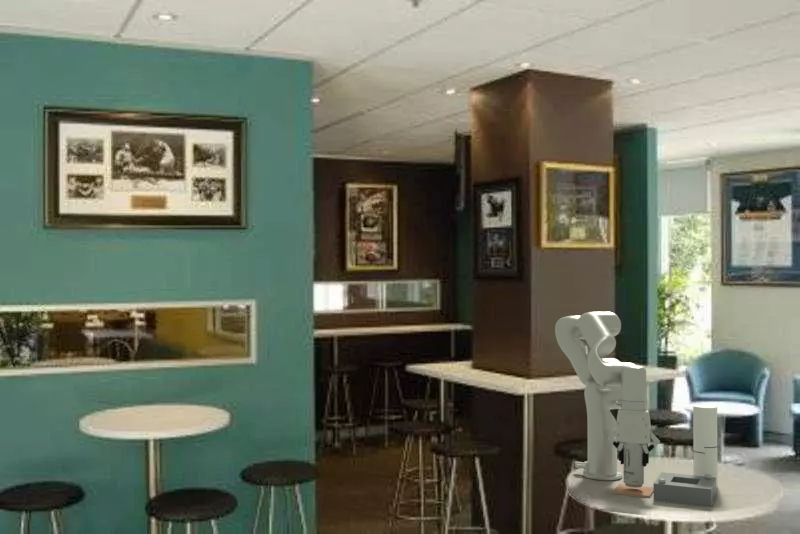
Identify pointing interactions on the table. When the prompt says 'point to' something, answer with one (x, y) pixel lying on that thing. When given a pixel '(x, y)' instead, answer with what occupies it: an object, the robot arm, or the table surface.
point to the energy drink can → (633, 465)
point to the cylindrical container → (705, 440)
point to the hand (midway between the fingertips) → (633, 464)
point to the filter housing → (685, 489)
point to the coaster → (633, 491)
